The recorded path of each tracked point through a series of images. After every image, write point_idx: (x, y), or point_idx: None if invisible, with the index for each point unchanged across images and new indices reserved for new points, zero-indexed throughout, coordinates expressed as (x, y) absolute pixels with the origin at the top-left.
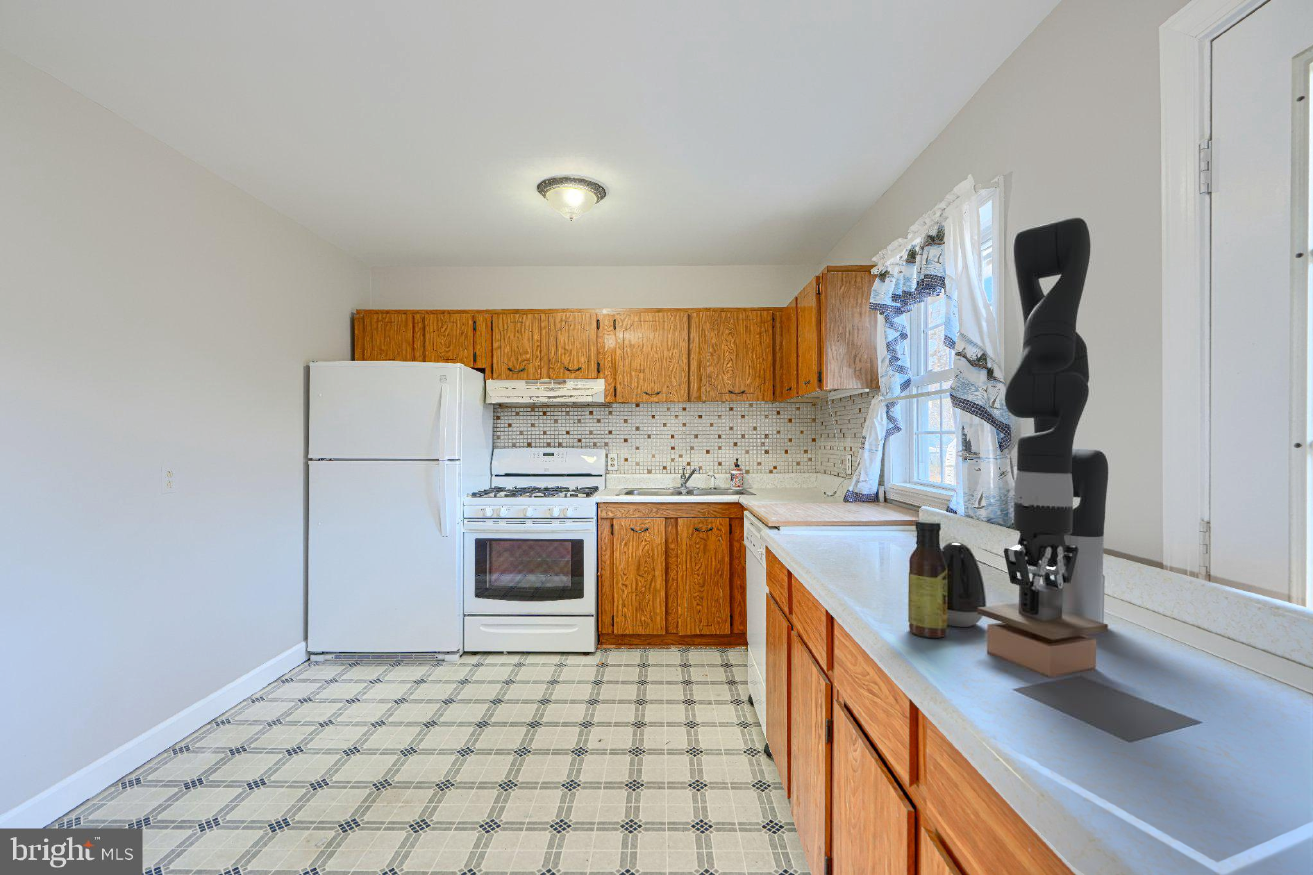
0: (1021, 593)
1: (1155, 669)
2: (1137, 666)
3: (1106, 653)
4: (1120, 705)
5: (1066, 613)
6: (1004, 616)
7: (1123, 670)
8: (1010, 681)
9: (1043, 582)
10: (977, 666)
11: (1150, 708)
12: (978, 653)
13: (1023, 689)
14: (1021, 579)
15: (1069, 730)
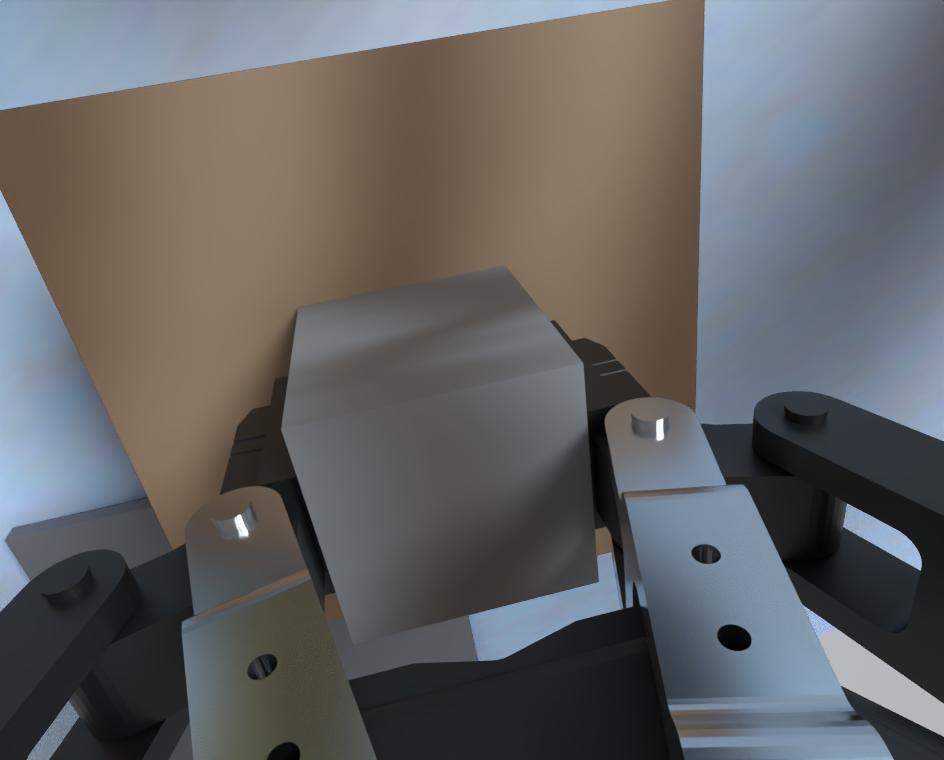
0: (220, 493)
1: (833, 368)
2: (803, 337)
3: (852, 192)
4: (343, 638)
5: (670, 342)
6: (97, 379)
7: (703, 367)
8: (86, 430)
9: (605, 426)
10: (8, 264)
11: (424, 649)
12: (136, 82)
13: (56, 544)
14: (55, 755)
15: (55, 721)
